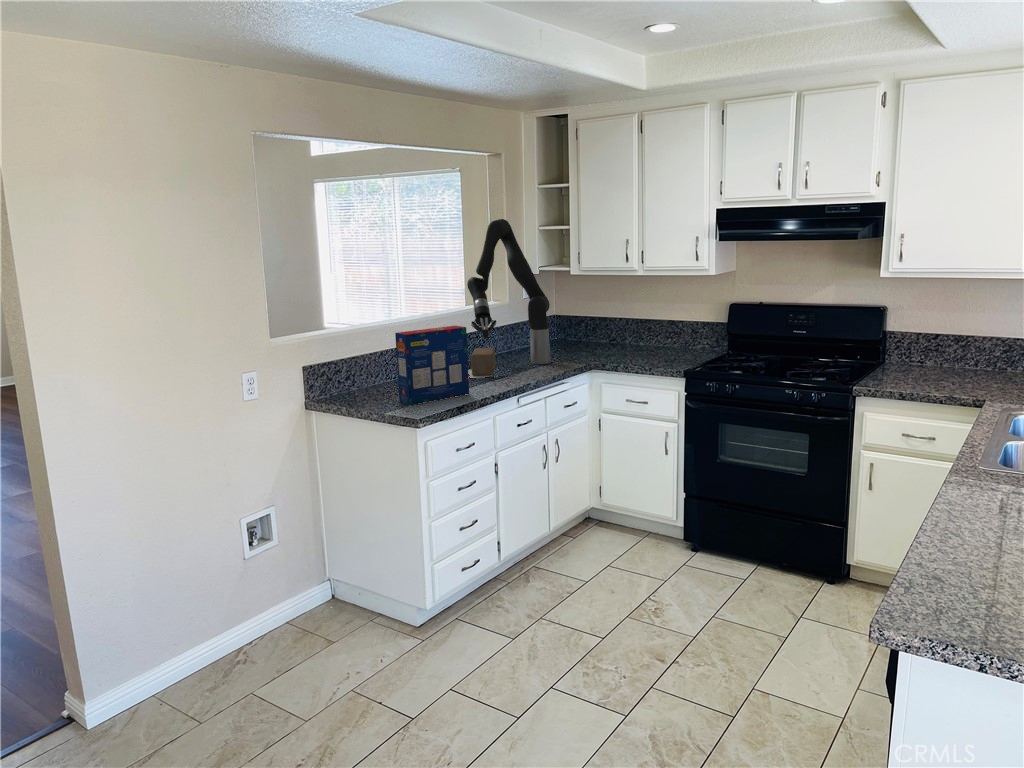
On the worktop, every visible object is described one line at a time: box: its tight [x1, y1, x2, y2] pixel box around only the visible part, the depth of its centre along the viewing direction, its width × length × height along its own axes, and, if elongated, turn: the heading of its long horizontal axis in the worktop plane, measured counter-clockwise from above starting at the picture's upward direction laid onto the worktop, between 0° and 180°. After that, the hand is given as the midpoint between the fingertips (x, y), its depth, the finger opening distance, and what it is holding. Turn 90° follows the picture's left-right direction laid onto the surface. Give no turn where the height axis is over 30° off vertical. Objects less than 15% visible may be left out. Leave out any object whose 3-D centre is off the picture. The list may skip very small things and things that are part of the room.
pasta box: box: [394, 325, 470, 406], centre depth 308 cm, size 28×8×28 cm, turn 127°
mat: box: [468, 368, 499, 379], centre depth 361 cm, size 22×22×1 cm
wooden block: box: [470, 347, 497, 376], centre depth 362 cm, size 10×10×20 cm
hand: (486, 337), depth 374 cm, fingers closed
